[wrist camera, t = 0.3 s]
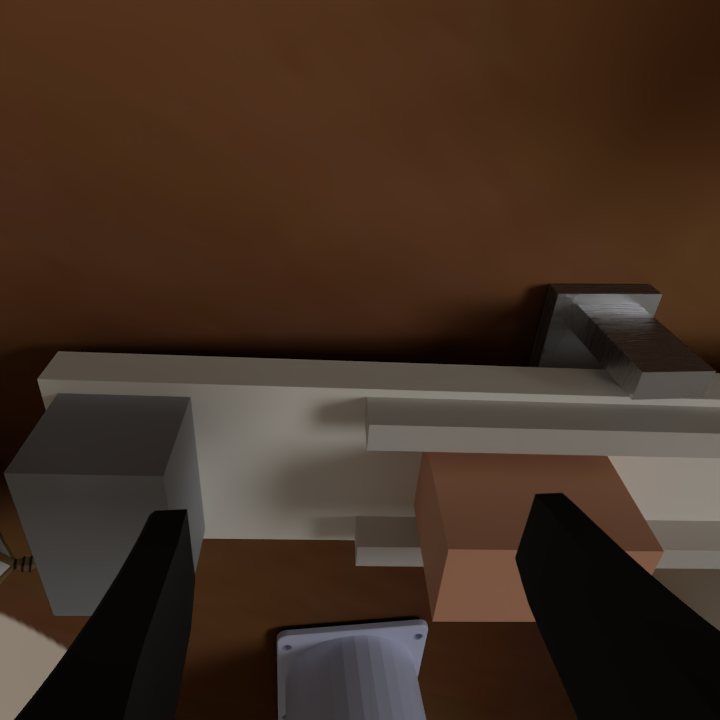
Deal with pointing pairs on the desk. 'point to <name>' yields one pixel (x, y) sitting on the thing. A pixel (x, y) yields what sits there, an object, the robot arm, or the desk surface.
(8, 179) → the desk surface
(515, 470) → the block
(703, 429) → the beam
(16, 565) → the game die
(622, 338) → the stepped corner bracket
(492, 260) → the desk surface
